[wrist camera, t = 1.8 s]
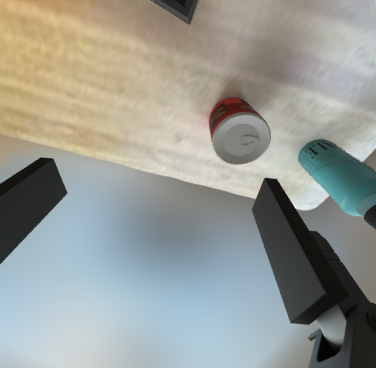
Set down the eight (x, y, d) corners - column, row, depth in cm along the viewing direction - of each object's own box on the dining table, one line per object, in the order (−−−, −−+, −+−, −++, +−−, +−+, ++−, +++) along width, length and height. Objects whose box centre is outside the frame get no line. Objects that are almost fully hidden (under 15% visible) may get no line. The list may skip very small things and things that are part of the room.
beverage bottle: (307, 169, 39) (384, 249, 23) (286, 154, 37) (353, 230, 21) (335, 145, 36) (450, 220, 19) (313, 127, 34) (419, 194, 18)
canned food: (253, 132, 35) (272, 159, 26) (213, 142, 37) (218, 171, 28) (249, 90, 31) (270, 104, 22) (204, 104, 32) (206, 123, 23)
